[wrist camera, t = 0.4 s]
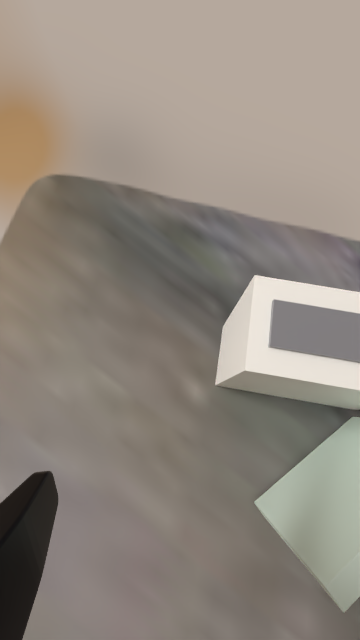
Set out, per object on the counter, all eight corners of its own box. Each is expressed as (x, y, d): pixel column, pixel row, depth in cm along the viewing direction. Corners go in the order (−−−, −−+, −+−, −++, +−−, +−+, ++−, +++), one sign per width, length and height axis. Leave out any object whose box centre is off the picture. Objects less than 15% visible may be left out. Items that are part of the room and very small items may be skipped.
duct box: (351, 409, 23) (488, 411, 13) (215, 385, 23) (246, 369, 13) (351, 348, 24) (474, 308, 14) (223, 326, 24) (256, 272, 15)
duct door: (361, 427, 22) (506, 444, 12) (262, 515, 20) (343, 613, 11) (352, 416, 22) (487, 424, 13) (253, 502, 20) (325, 586, 11)
